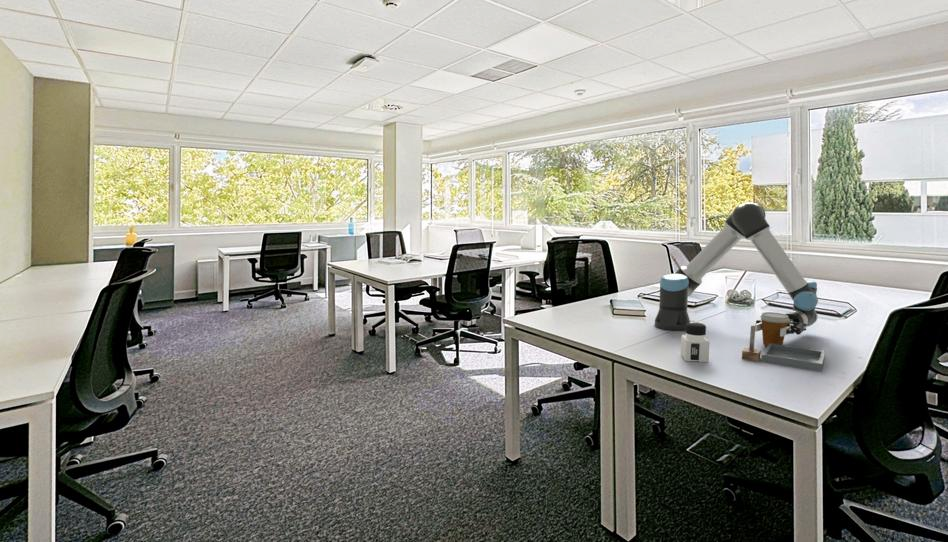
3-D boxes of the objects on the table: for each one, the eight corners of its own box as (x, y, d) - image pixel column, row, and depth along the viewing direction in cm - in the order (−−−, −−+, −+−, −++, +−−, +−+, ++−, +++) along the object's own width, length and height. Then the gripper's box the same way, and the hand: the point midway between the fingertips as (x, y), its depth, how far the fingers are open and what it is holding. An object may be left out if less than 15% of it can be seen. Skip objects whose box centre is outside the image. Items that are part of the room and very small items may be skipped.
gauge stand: (741, 359, 169) (743, 326, 167) (744, 355, 173) (746, 323, 171) (757, 361, 166) (760, 328, 164) (760, 358, 170) (762, 325, 168)
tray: (761, 361, 166) (762, 354, 166) (768, 349, 179) (769, 343, 179) (821, 371, 155) (822, 363, 155) (824, 358, 168) (825, 351, 168)
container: (708, 362, 166) (710, 326, 164) (685, 361, 167) (687, 325, 165) (702, 355, 173) (704, 321, 171) (680, 354, 175) (681, 320, 173)
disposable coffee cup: (759, 340, 189) (761, 310, 188) (787, 343, 184) (790, 313, 182) (757, 346, 182) (759, 315, 180) (786, 350, 176) (789, 318, 175)
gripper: (822, 335, 184) (799, 346, 171) (764, 325, 201) (738, 334, 188) (824, 317, 183) (800, 326, 170) (766, 307, 200) (740, 315, 187)
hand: (768, 330), depth 179 cm, fingers closed on disposable coffee cup, 8 cm apart
